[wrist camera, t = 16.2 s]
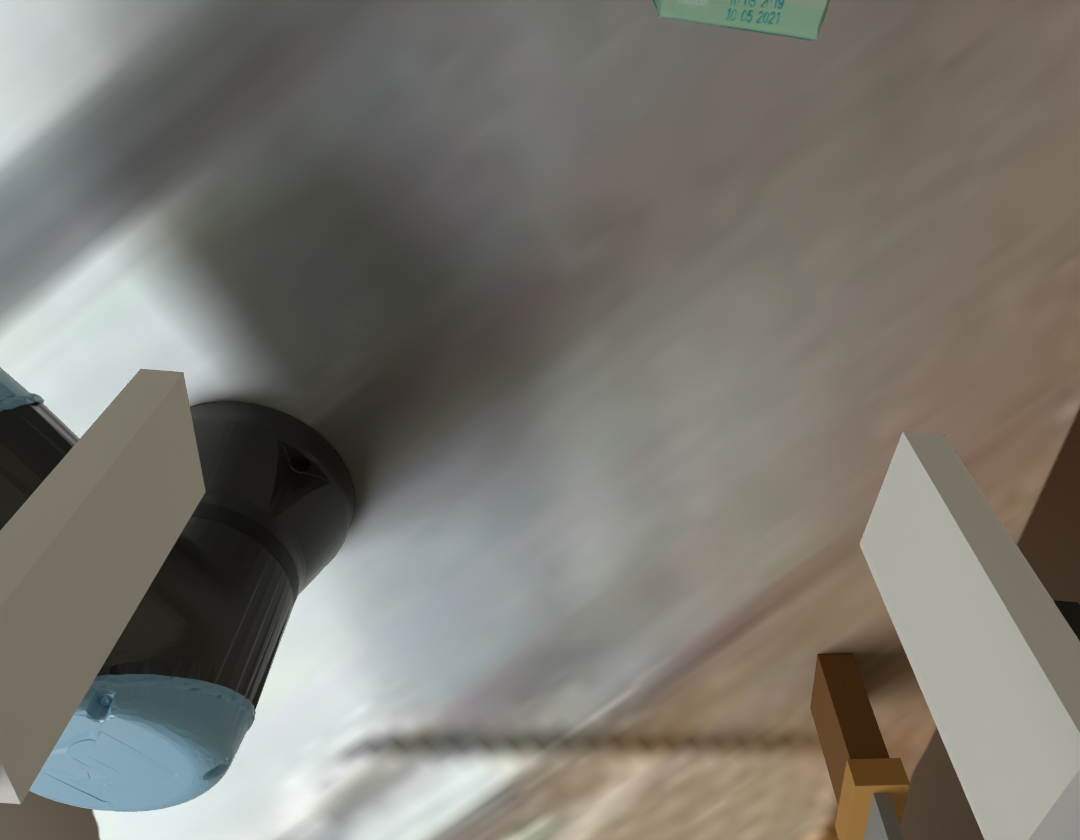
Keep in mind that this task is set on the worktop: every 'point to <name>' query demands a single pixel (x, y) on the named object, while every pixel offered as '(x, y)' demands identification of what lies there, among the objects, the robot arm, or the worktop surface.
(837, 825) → the knife
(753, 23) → the box
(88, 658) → the robot arm
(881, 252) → the worktop surface
